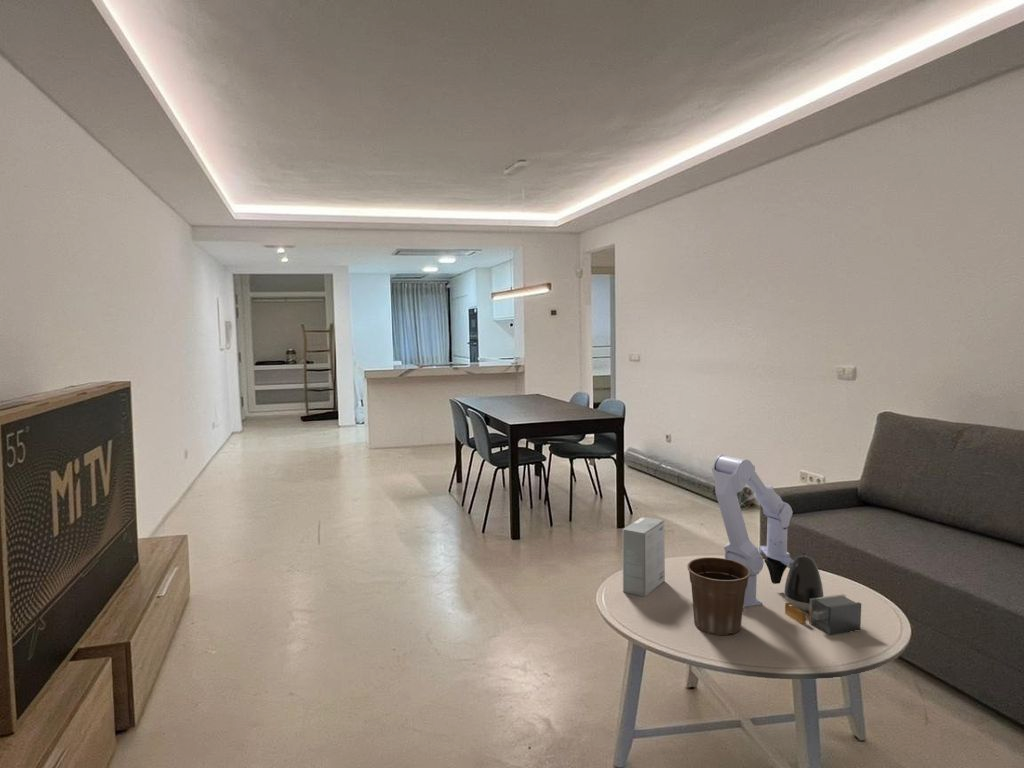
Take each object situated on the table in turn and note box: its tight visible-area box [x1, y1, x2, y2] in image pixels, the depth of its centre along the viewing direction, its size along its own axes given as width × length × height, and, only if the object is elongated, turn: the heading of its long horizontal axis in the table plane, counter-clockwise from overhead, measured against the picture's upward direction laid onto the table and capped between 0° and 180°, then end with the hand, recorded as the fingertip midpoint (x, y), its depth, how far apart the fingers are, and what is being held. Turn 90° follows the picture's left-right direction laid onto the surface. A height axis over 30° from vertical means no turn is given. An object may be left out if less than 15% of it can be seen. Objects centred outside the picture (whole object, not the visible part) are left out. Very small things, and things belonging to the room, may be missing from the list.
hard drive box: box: [621, 516, 666, 598], centre depth 201 cm, size 16×8×20 cm, turn 144°
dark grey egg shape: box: [784, 552, 824, 612], centre depth 185 cm, size 10×10×15 cm
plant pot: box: [686, 556, 750, 636], centre depth 174 cm, size 16×16×16 cm
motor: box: [784, 593, 862, 636], centre depth 177 cm, size 15×14×7 cm
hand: (775, 582), depth 198 cm, fingers closed
